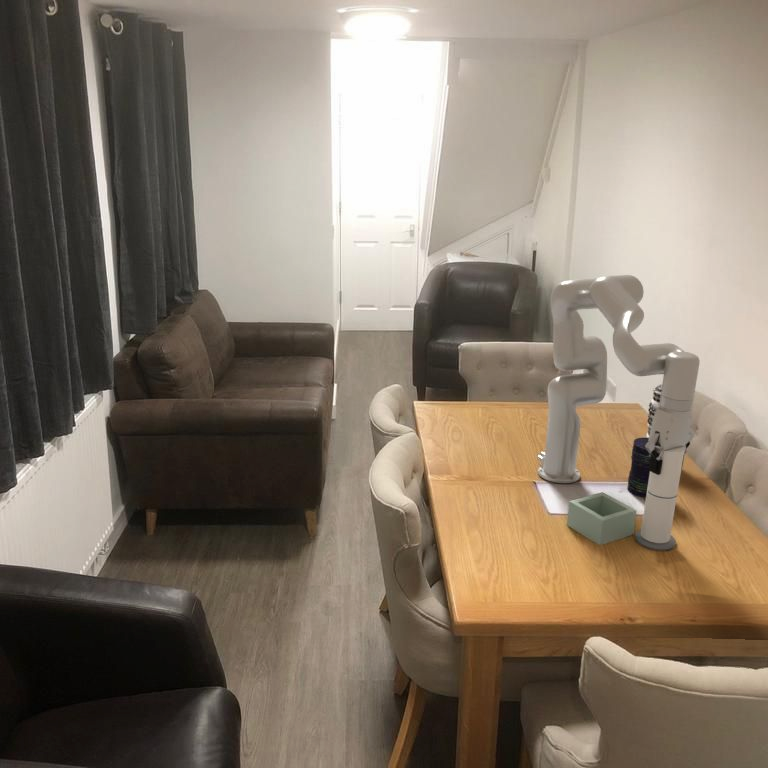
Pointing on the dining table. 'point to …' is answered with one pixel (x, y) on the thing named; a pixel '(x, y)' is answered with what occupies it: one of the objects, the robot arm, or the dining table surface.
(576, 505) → the collar
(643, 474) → the storage jar
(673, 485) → the cylindrical container
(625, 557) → the dining table surface
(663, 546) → the grey round disc
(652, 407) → the decorative candle
